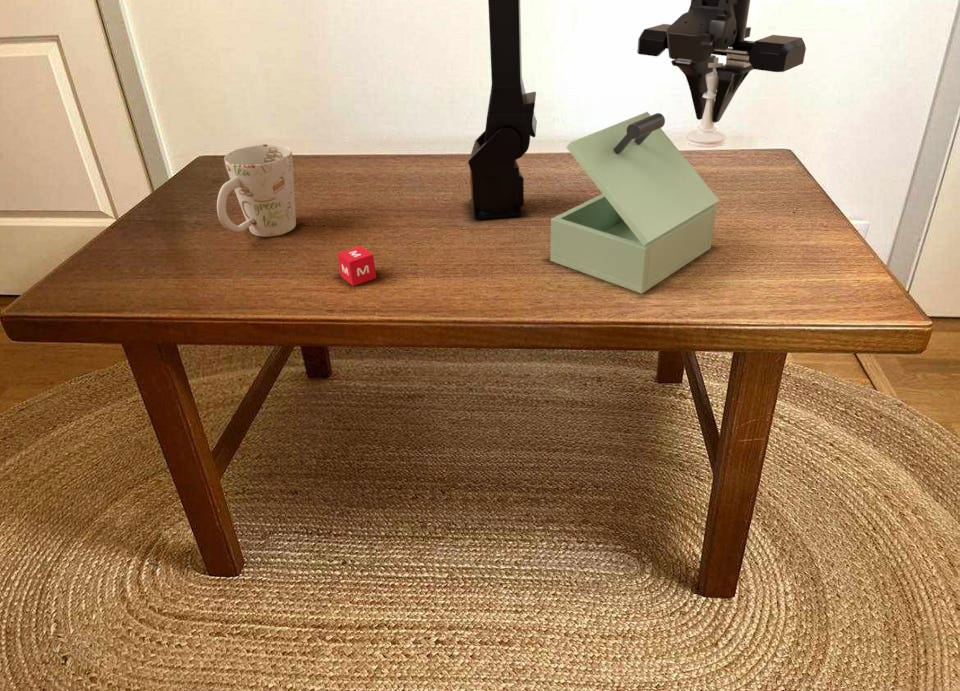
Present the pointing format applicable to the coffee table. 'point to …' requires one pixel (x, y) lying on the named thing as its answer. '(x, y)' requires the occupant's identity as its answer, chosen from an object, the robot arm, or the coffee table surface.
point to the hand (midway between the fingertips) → (707, 120)
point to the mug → (260, 189)
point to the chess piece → (708, 115)
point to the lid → (643, 176)
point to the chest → (624, 245)
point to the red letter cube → (356, 265)
